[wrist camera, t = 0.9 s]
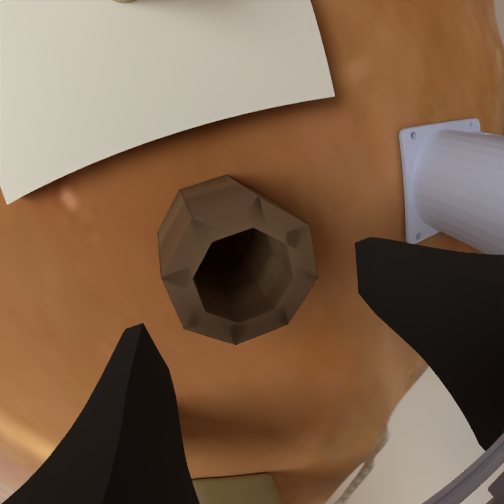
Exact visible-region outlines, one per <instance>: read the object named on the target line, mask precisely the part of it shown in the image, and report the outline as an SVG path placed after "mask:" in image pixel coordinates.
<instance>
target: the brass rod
mask: <svg viewBox="0 0 504 504" xmlns="http://www.w3.org/2000/svg"><path fill="white" fill-rule="evenodd" d="M113 1H115V2H118V3H131V2H135V1H137V0H113Z"/></svg>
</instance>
